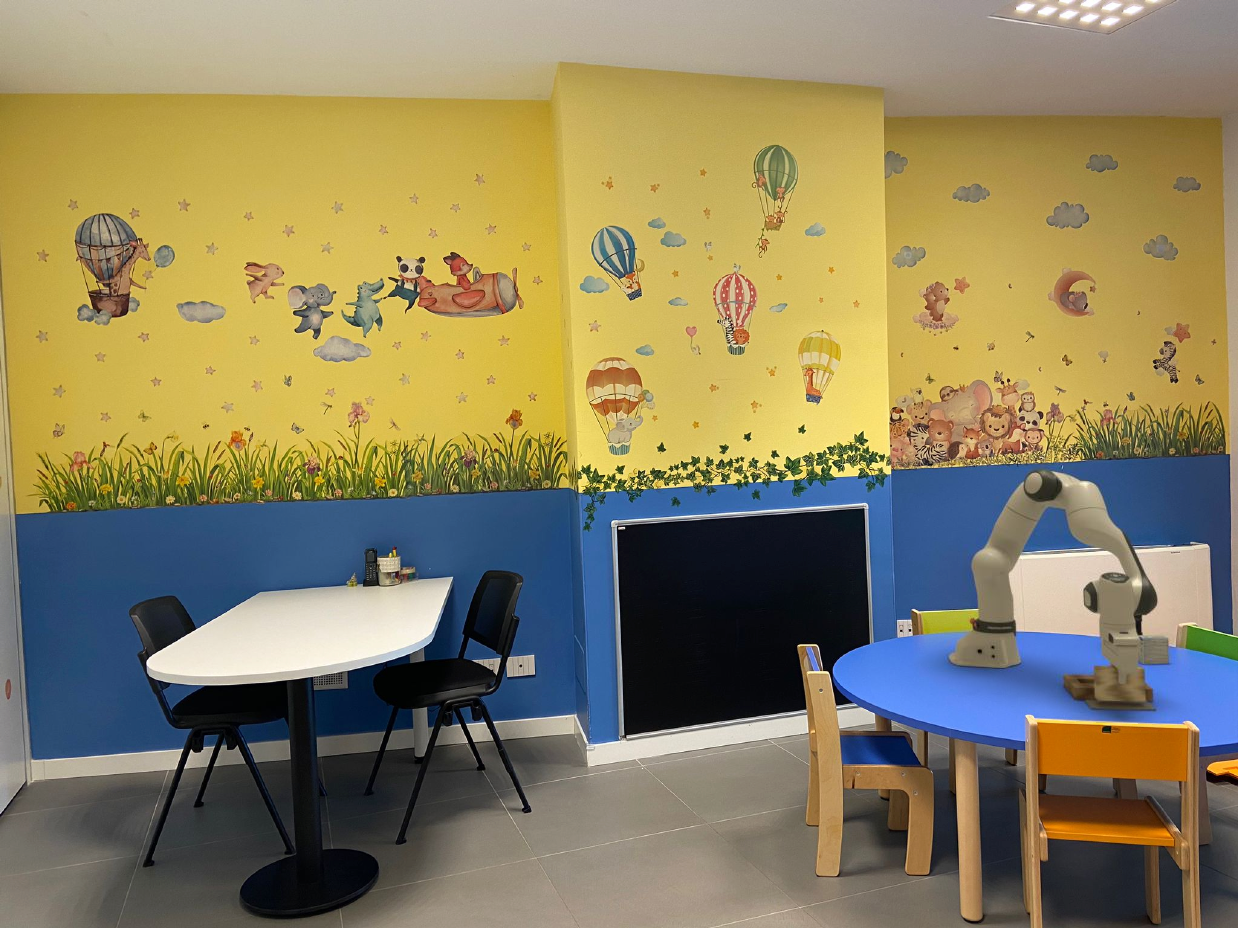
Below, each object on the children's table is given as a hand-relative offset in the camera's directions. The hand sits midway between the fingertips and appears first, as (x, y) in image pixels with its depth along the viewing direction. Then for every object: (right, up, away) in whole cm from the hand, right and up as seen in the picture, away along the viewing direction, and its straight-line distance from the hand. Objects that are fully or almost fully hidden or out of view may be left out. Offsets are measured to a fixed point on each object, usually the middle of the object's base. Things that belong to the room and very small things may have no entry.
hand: (1119, 681), depth 247 cm
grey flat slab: (0, -7, 0) cm, 7 cm away
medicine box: (+34, -4, +40) cm, 53 cm away
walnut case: (+3, -6, +12) cm, 14 cm away
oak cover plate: (0, -5, 0) cm, 5 cm away
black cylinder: (+37, -3, +60) cm, 70 cm away
